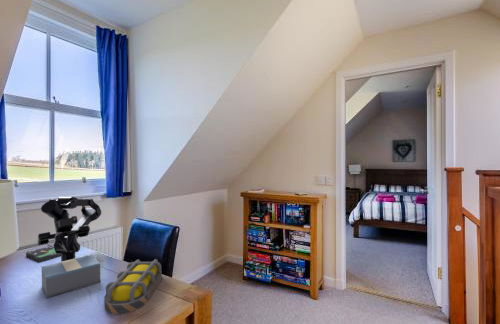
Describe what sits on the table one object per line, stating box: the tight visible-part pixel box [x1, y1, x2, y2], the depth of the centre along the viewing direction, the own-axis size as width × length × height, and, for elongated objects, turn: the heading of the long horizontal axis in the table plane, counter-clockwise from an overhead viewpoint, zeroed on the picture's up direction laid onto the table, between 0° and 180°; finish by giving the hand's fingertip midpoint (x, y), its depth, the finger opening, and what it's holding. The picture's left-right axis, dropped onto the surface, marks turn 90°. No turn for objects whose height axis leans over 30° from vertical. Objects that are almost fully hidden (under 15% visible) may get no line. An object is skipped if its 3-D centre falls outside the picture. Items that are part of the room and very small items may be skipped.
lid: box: [40, 254, 101, 280], centre depth 109 cm, size 13×18×1 cm
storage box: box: [41, 265, 101, 299], centre depth 109 cm, size 13×18×7 cm
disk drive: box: [25, 246, 61, 263], centre depth 139 cm, size 10×3×15 cm
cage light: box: [103, 258, 162, 315], centre depth 104 cm, size 15×8×30 cm
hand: (67, 251), depth 114 cm, fingers closed
